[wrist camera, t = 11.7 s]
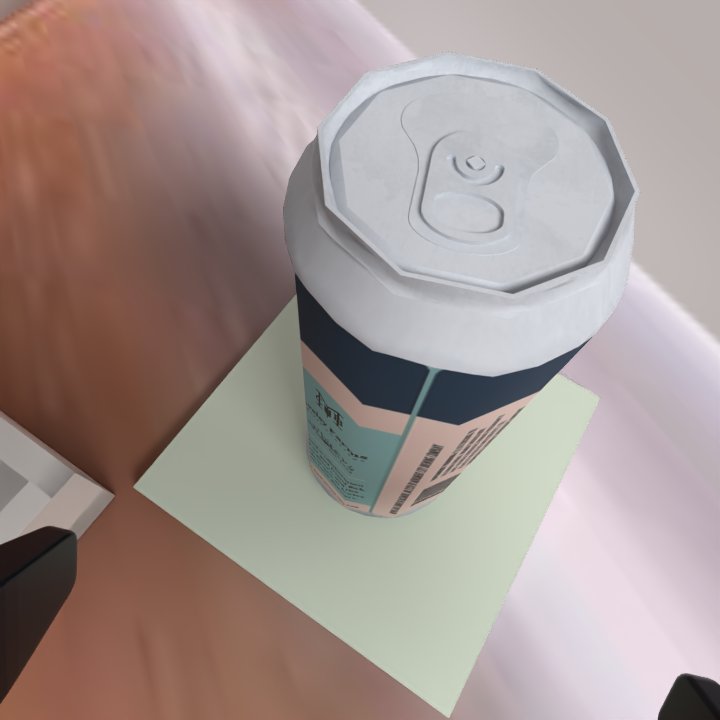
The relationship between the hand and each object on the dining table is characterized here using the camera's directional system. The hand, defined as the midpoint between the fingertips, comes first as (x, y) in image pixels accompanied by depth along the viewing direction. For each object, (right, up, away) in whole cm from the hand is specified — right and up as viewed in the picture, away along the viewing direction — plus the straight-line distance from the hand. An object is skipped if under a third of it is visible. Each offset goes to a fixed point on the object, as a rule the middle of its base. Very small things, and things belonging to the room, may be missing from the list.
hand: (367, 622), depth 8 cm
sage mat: (+1, +1, +10) cm, 10 cm away
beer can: (+1, +1, +10) cm, 10 cm away
